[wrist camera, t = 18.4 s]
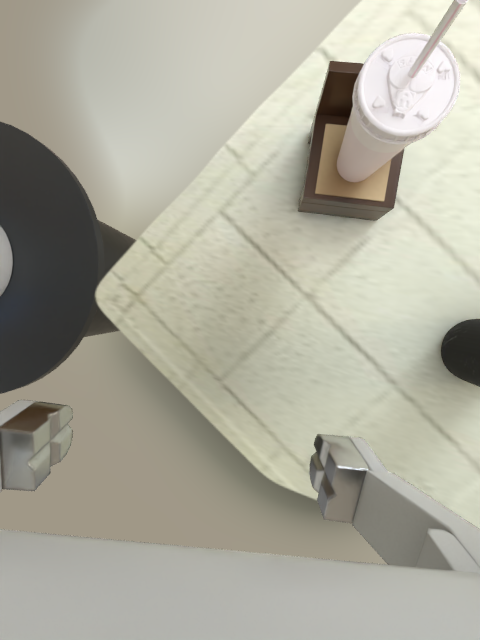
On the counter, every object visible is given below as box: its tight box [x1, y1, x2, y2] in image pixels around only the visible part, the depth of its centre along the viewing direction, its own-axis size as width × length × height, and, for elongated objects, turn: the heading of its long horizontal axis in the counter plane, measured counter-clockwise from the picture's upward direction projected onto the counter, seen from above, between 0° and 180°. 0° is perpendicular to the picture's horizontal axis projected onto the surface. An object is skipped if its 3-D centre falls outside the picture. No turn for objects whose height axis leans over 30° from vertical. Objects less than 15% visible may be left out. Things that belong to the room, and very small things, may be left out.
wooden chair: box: [298, 61, 404, 220], centre depth 26 cm, size 9×9×9 cm
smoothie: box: [337, 0, 468, 182], centre depth 20 cm, size 6×6×14 cm
